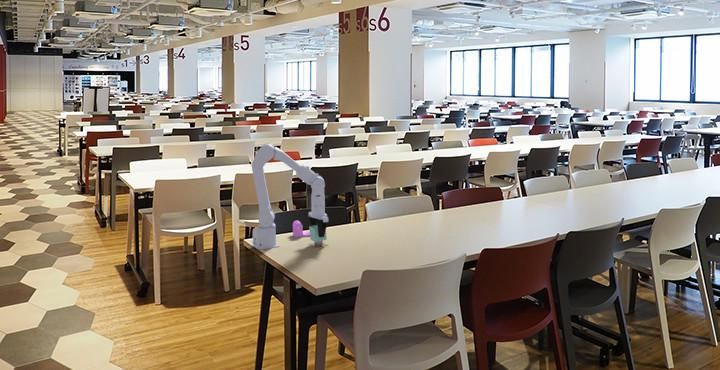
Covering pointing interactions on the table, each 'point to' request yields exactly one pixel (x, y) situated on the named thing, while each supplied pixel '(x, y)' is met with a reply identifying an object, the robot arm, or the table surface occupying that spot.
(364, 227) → the table surface
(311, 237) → the teal cube
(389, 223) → the table surface
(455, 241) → the table surface
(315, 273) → the table surface
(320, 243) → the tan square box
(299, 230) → the bracket
